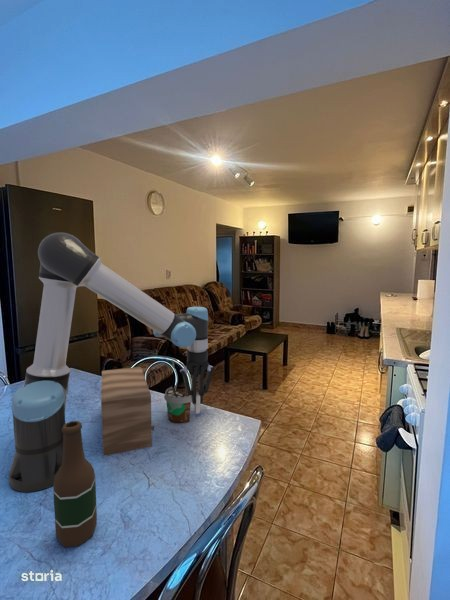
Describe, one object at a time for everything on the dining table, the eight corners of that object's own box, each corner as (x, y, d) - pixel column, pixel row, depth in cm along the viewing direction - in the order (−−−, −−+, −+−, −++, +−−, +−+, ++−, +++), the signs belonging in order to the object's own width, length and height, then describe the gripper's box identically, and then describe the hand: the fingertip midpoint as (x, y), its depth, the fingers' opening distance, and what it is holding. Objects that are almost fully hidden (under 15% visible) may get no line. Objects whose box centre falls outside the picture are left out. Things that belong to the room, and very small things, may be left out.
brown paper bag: (151, 446, 96) (150, 395, 94) (103, 456, 91) (101, 402, 89) (141, 407, 122) (140, 366, 120) (103, 413, 117) (101, 370, 115)
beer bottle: (99, 538, 64) (95, 428, 61) (56, 556, 60) (49, 438, 57) (94, 512, 70) (90, 411, 68) (55, 526, 67) (49, 420, 64)
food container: (157, 416, 115) (157, 390, 114) (171, 411, 119) (171, 386, 118) (178, 429, 106) (177, 401, 105) (192, 422, 111) (191, 395, 109)
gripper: (211, 345, 119) (210, 404, 121) (177, 348, 114) (177, 409, 117) (217, 350, 112) (217, 413, 114) (182, 354, 107) (182, 419, 110)
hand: (197, 411), depth 115 cm, fingers closed
